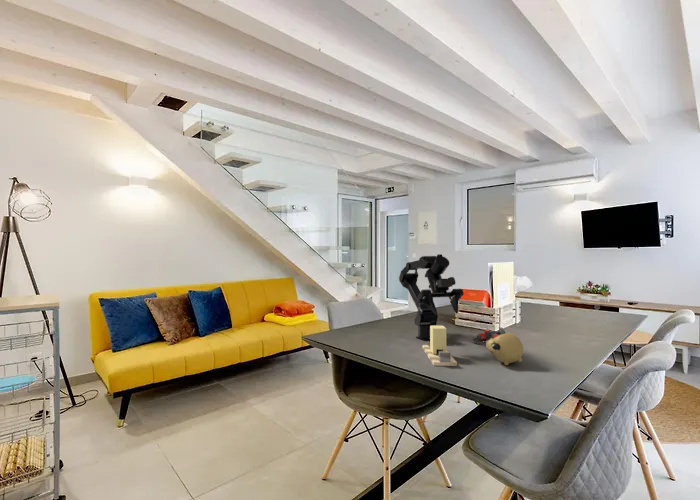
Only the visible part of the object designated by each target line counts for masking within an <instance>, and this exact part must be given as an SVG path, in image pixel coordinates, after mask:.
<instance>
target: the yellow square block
mask: <svg viewBox="0 0 700 500" xmlns="http://www.w3.org/2000/svg"><path fill="white" fill-rule="evenodd" d="M429 342H430V350H431V352H432V353H433V354H436V349H440V350H441V351H446V350H447V328H446V327H445V326H444V325H432V326H430V340H429Z"/></svg>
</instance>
